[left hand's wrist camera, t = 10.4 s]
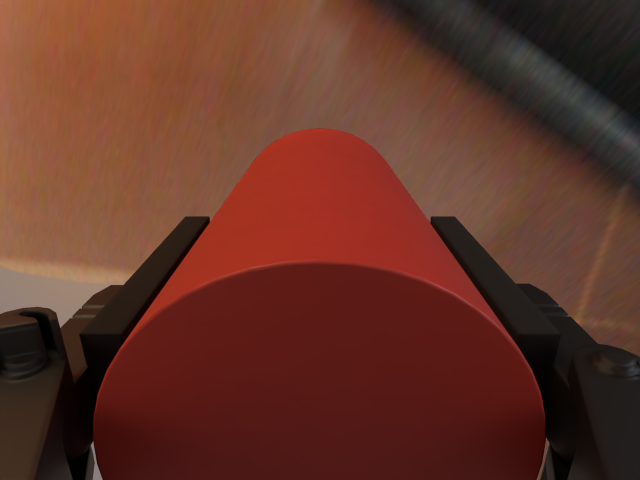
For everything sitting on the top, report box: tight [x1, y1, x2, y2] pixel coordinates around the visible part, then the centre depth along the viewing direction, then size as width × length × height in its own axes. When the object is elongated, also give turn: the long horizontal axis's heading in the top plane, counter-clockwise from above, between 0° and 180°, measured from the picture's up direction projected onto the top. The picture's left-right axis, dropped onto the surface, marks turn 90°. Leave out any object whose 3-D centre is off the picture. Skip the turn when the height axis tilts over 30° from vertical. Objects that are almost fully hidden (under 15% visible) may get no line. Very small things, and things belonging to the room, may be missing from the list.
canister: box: [93, 128, 546, 480], centre depth 13 cm, size 7×7×13 cm
